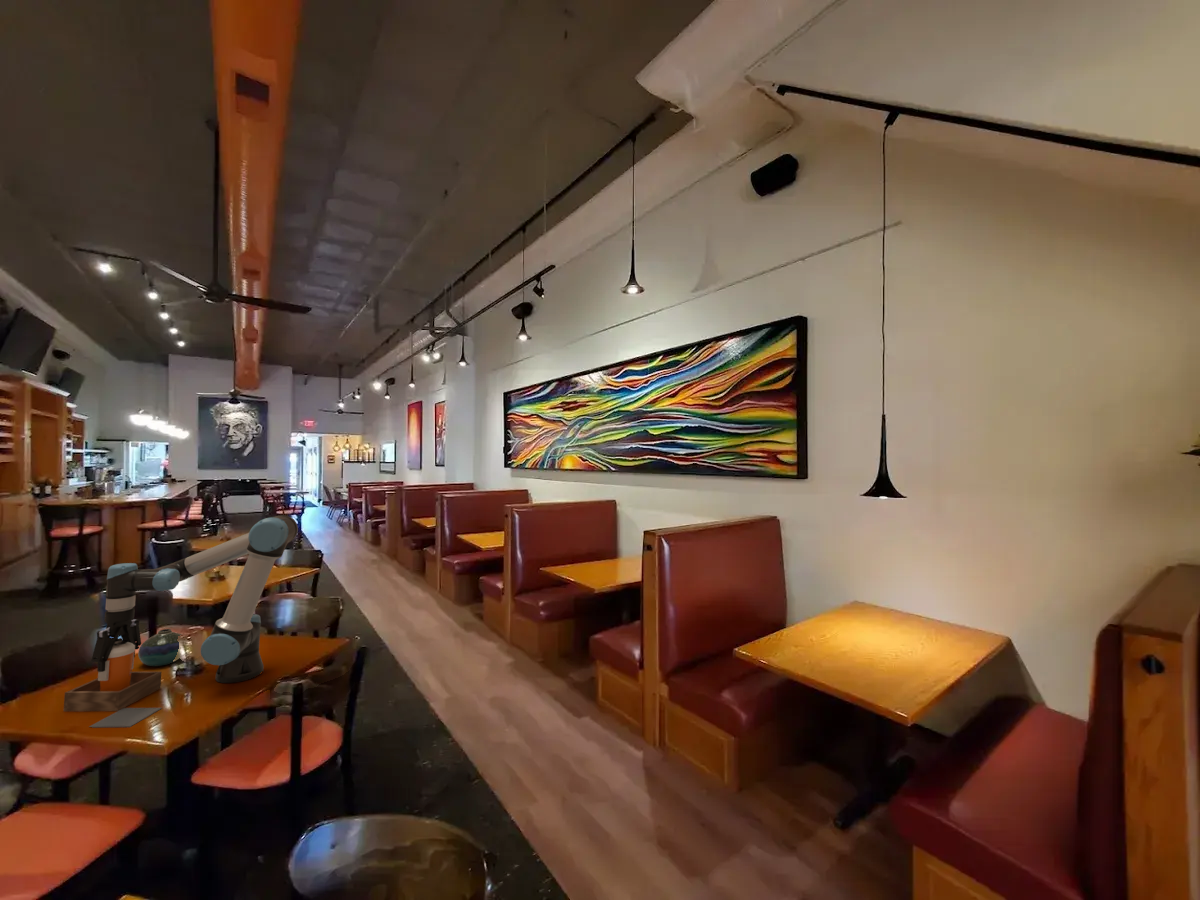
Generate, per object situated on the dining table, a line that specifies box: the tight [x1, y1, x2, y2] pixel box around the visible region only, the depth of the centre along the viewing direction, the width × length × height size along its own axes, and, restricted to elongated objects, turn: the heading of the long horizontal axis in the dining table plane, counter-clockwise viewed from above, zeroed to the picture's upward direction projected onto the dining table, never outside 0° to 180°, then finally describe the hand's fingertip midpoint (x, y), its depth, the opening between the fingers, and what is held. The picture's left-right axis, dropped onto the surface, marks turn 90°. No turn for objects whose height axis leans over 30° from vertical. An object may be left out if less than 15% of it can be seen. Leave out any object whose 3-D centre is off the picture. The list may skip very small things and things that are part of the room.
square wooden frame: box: [63, 671, 162, 712], centre depth 172 cm, size 17×17×6 cm
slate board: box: [88, 707, 163, 729], centre depth 160 cm, size 12×12×1 cm
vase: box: [137, 628, 182, 667], centre depth 203 cm, size 15×15×13 cm
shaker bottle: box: [100, 637, 136, 691], centre depth 172 cm, size 9×9×20 cm
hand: (116, 674), depth 172 cm, fingers closed on shaker bottle, 9 cm apart
